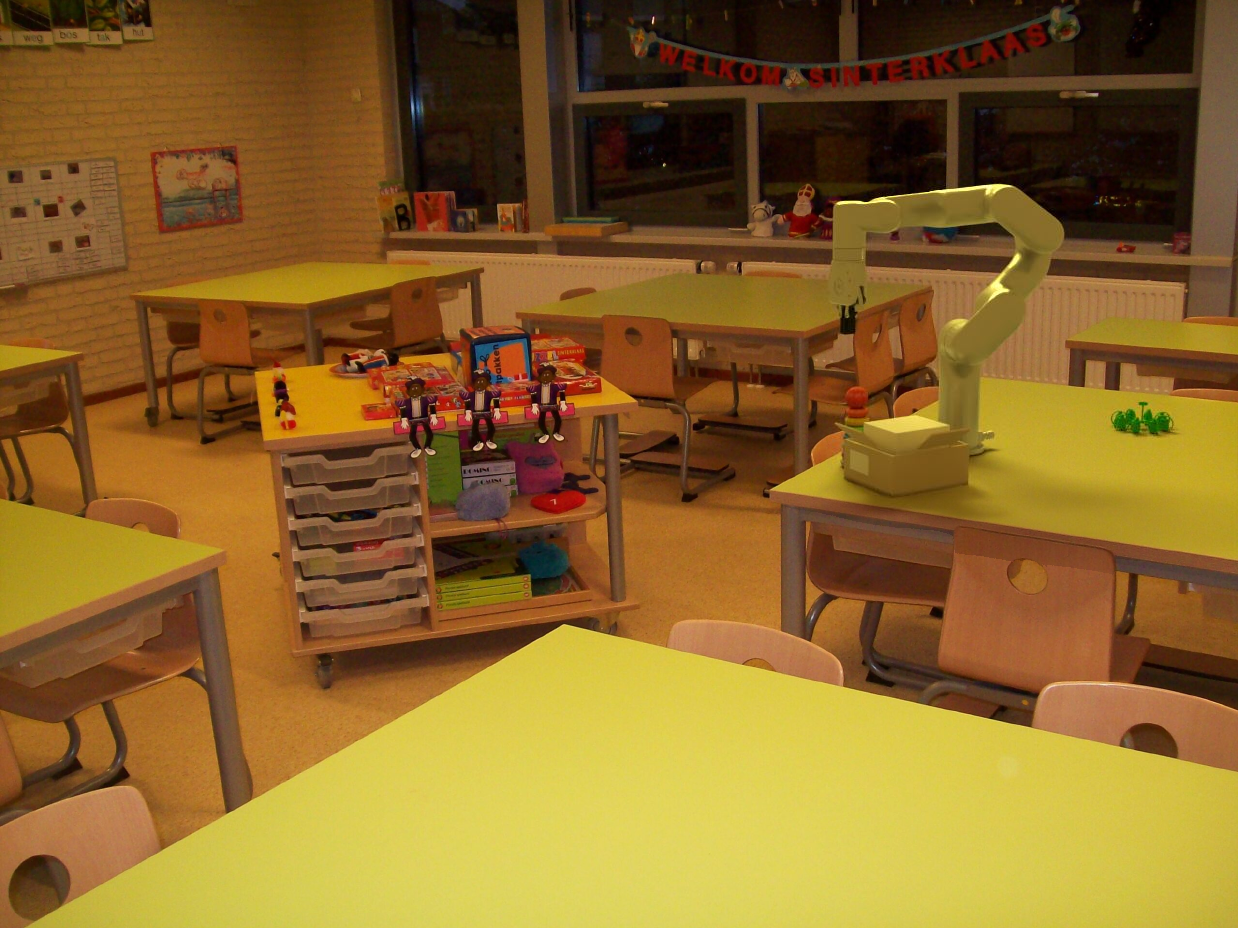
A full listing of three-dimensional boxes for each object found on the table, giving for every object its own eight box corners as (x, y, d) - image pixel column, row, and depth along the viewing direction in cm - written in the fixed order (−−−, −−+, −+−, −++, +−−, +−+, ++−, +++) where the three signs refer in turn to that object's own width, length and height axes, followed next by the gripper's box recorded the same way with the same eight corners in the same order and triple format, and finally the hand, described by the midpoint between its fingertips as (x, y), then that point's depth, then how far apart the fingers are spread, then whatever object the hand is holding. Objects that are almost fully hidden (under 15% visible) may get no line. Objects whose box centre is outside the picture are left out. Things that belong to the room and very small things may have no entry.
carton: (917, 465, 283) (919, 410, 280) (970, 483, 266) (972, 425, 263) (842, 477, 275) (842, 421, 272) (891, 497, 259) (892, 438, 255)
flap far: (855, 438, 269) (854, 440, 269) (835, 422, 266) (834, 423, 266) (882, 448, 260) (881, 449, 260) (862, 431, 257) (861, 432, 257)
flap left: (915, 448, 259) (916, 449, 258) (931, 433, 253) (932, 435, 253) (953, 442, 262) (954, 443, 262) (970, 427, 257) (971, 429, 256)
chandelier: (1164, 439, 299) (1166, 411, 297) (1101, 432, 308) (1103, 405, 306) (1180, 426, 311) (1182, 400, 309) (1119, 420, 320) (1121, 394, 318)
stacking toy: (873, 461, 288) (874, 383, 283) (876, 470, 280) (878, 390, 275) (839, 462, 288) (839, 384, 284) (841, 470, 281) (842, 390, 276)
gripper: (817, 254, 289) (816, 331, 293) (854, 258, 276) (853, 339, 280) (843, 252, 292) (842, 328, 296) (881, 256, 279) (879, 336, 283)
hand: (847, 333), depth 288 cm, fingers closed
